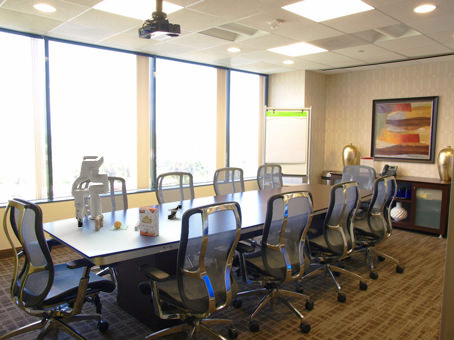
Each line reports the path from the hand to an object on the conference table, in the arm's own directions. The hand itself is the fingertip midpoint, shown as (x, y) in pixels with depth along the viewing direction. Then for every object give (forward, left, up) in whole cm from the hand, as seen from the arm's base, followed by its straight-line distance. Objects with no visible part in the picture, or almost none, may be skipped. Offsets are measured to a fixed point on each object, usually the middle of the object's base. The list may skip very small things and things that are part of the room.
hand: (80, 227), depth 299 cm
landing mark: (0, +31, -2) cm, 31 cm away
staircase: (-30, +75, -2) cm, 81 cm away
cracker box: (+25, +58, -2) cm, 63 cm away
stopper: (0, +46, -2) cm, 46 cm away
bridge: (0, +15, -2) cm, 15 cm away
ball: (+1, +30, +2) cm, 30 cm away
